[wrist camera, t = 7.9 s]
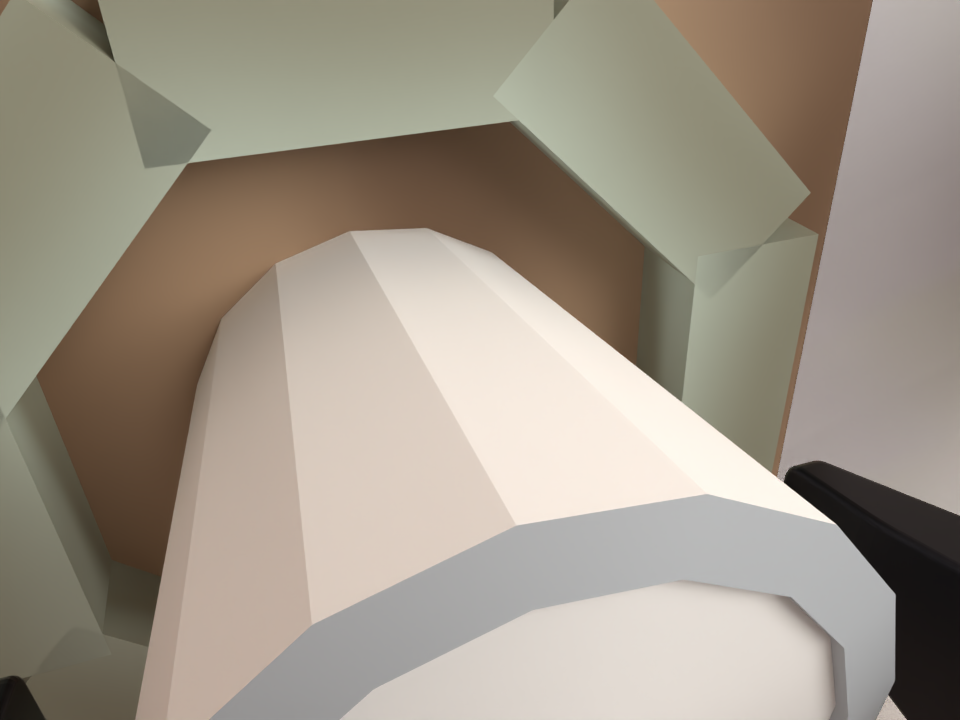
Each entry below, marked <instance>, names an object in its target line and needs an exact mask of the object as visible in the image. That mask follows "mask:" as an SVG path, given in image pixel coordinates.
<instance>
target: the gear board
mask: <svg viewBox="0 0 960 720" xmlns="http://www.w3.org/2000/svg"><path fill="white" fill-rule="evenodd" d="M872 2H873V0H0V678H3V677H7V676H10V675H12V676H13V675H16V676H19V677H21V678H22V679H23V680H24V682H25V683H26V685H27V686H28V688H29V690H30V692H31V693H32V695H33V697H34V699H35V701H36V702H37V704H38V706H39V708H40V710H41V711H42V713H43V715H44V717H45V719H46V720H135V718H136V713H137V707H138V702H139V696H140V691H141V686H142V680H143V675H144V669H145V664H146V659H147V653H148V648H149V642H150V637H151V631H152V626H153V621H154V615H155V610H156V604H157V599H158V594H159V588H160V583H161V577H162V572H163V566H164V561H165V556H166V550H167V545H168V539H169V534H170V529H171V523H172V518H173V512H174V507H175V501H176V496H177V491H178V485H179V480H180V474H181V469H182V464H183V458H184V453H185V447H186V442H187V436H188V431H189V426H190V420H191V415H192V409H193V404H194V399H195V393H196V388H197V383H198V381H199V378H200V375H201V372H202V370H203V367H204V364H205V362H206V359H207V356H208V353H209V351H210V348H211V345H212V343H213V340H214V337H215V334H216V332H217V329H218V326H219V324H220V321H221V318H222V317H223V316H224V315H225V314H226V313H227V312H228V311H229V310H230V309H231V308H232V307H233V306H234V305H235V304H236V303H237V302H238V301H239V300H240V299H241V298H242V297H243V296H244V295H245V294H246V293H247V292H248V291H249V290H250V289H251V288H252V287H253V286H254V285H255V284H256V283H257V282H258V281H259V280H260V279H261V278H262V277H263V276H264V275H265V274H266V273H267V272H268V271H269V270H270V269H271V268H272V267H273V266H274V265H275V264H276V263H278V262H280V261H282V260H285V259H287V258H289V257H292V256H294V255H296V254H298V253H301V252H303V251H305V250H308V249H310V248H312V247H314V246H317V245H319V244H321V243H324V242H326V241H328V240H330V239H333V238H335V237H337V236H340V235H342V234H344V233H346V232H349V231H366V230H391V229H416V228H428V229H431V230H433V231H436V232H439V233H441V234H444V235H447V236H449V237H452V238H455V239H457V240H460V241H463V242H465V243H468V244H471V245H473V246H476V247H479V248H481V249H484V250H487V251H490V252H492V253H493V254H494V255H496V256H497V257H498V258H500V259H501V260H502V261H503V262H505V263H506V264H507V265H508V266H510V267H511V268H512V269H513V270H515V271H516V272H517V273H519V274H520V275H521V276H522V277H524V278H525V279H526V280H527V281H529V282H530V283H531V284H532V285H534V286H535V287H536V288H538V289H539V290H540V291H541V292H543V293H544V294H545V295H546V296H548V297H549V298H550V299H552V300H553V301H554V302H555V303H557V304H558V305H559V306H560V307H562V308H563V309H564V310H565V311H567V312H568V313H569V314H571V315H572V316H573V317H574V318H576V319H577V320H578V321H579V322H581V323H582V324H583V325H584V326H586V327H587V328H588V329H590V330H591V331H592V332H593V333H595V334H596V335H597V336H598V337H600V338H601V339H602V340H603V341H605V342H606V343H607V344H609V345H610V346H611V347H612V348H614V349H615V350H616V351H617V352H619V353H620V354H621V355H622V356H624V357H625V358H626V359H628V360H629V361H630V362H631V363H633V364H634V365H635V366H636V367H638V368H639V369H640V370H641V371H643V372H644V373H645V374H647V375H648V376H649V377H650V378H652V379H653V380H654V381H655V382H657V383H658V384H659V385H660V386H662V387H663V388H664V389H666V390H667V391H668V392H669V393H671V394H672V395H673V396H674V397H676V398H677V399H678V400H679V401H681V402H682V403H683V404H685V405H686V406H687V407H688V408H690V409H691V410H692V411H693V412H695V413H696V414H697V415H698V416H700V417H701V418H702V419H704V420H705V421H706V422H707V423H709V424H710V425H711V426H712V427H714V428H715V429H716V430H717V431H719V432H720V433H721V434H723V435H724V436H725V437H726V438H728V439H729V440H730V441H731V442H733V443H734V444H735V445H736V446H738V447H739V448H740V449H742V450H743V451H744V452H745V453H747V454H748V455H749V456H750V457H752V458H753V459H754V460H755V461H757V462H758V463H759V464H761V465H762V466H763V467H764V468H766V469H767V470H768V471H769V472H771V473H772V474H773V475H774V476H776V477H777V473H778V468H779V463H780V458H781V453H782V448H783V443H784V438H785V433H786V429H787V424H788V419H789V414H790V409H791V404H792V399H793V394H794V389H795V384H796V379H797V374H798V369H799V364H800V359H801V354H802V349H803V344H804V339H805V334H806V329H807V324H808V319H809V314H810V309H811V304H812V299H813V294H814V289H815V285H816V280H817V275H818V270H819V265H820V260H821V255H822V250H823V245H824V240H825V235H826V230H827V225H828V220H829V215H830V210H831V205H832V200H833V195H834V190H835V185H836V180H837V175H838V170H839V165H840V160H841V155H842V150H843V146H844V141H845V136H846V131H847V126H848V121H849V116H850V111H851V106H852V101H853V96H854V91H855V86H856V81H857V76H858V71H859V66H860V61H861V56H862V51H863V46H864V41H865V36H866V31H867V26H868V21H869V16H870V11H871V7H872Z"/></svg>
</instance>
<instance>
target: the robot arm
mask: <svg viewBox="0 0 960 720" xmlns="http://www.w3.org/2000/svg"><path fill="white" fill-rule="evenodd" d="M784 483H785V484H786V485H787V486H788V487H790V488H791V489H792V490H793V491H795V492H796V493H797V494H799V495H800V496H801V497H802V498H804V499H805V500H806V501H807V502H809V503H810V504H811V505H812V506H814V507H815V508H816V509H818V510H819V511H820V512H821V513H823V514H824V515H825V516H826V517H828V518H829V519H830V520H831V521H833V522H834V523H835V524H837V526H838V527H839V528H840V529H841V530H842V531H843V533H844V534H845V535H846V536H847V537H848V539H849V540H850V541H851V542H852V543H853V545H854V546H855V547H856V548H857V549H858V550H859V552H860V553H861V554H862V555H863V556H864V558H865V559H866V560H867V561H868V562H869V564H870V565H871V566H872V567H873V568H874V569H875V571H876V572H877V573H878V574H879V575H880V577H881V578H882V579H883V580H884V581H885V583H886V584H887V585H888V586H889V587H890V589H891V590H892V591H893V592H894V593H895V594H896V603H895V682H894V684H893V686H892V688H891V690H890V692H889V694H888V695H889V697H890V698H891V699H892V701H893V702H894V703H895V705H896V706H897V707H898V709H899V710H900V711H901V713H902V714H903V715H904V717H905V718H906V719H907V720H960V516H959V515H957V514H954V513H951V512H949V511H946V510H944V509H941V508H939V507H936V506H934V505H931V504H929V503H926V502H924V501H921V500H919V499H916V498H914V497H911V496H909V495H906V494H904V493H901V492H899V491H896V490H894V489H891V488H889V487H886V486H884V485H881V484H879V483H876V482H874V481H871V480H869V479H866V478H864V477H861V476H859V475H856V474H854V473H851V472H849V471H846V470H844V469H841V468H839V467H836V466H833V465H831V464H828V463H826V462H823V461H812V462H808V463H804V464H800V465H797V466H793V467H791V468H790V469H789V470H788V471H787V473H786V475H785V479H784ZM0 720H46V719H45V717H44V715H43V713H42V711H41V710H40V708H39V706H38V704H37V702H36V701H35V699H34V697H33V695H32V693H31V692H30V690H29V688H28V686H27V685H26V683H25V682H24V680H23V679H22V678H21V677H19V676H16V675H13V676H12V675H10V676H7V677H3V678H0Z"/></svg>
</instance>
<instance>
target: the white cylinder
mask: <svg viewBox="0 0 960 720" xmlns="http://www.w3.org/2000/svg"><path fill="white" fill-rule="evenodd" d="M895 603H896V594H895V593H894V592H893V591H892V590H891V589H890V587H889V586H888V585H887V584H886V583H885V581H884V580H883V579H882V578H881V577H880V575H879V574H878V573H877V572H876V571H875V569H874V568H873V567H872V566H871V565H870V564H869V562H868V561H867V560H866V559H865V558H864V556H863V555H862V554H861V553H860V552H859V550H858V549H857V548H856V547H855V546H854V545H853V543H852V542H851V541H850V540H849V539H848V537H847V536H846V535H845V534H844V533H843V531H842V530H841V529H840V528H839V527H838V526H837V524H835V523H834V522H833V521H831V520H830V519H829V518H828V517H826V516H825V515H824V514H823V513H821V512H820V511H819V510H818V509H816V508H815V507H814V506H812V505H811V504H810V503H809V502H807V501H806V500H805V499H804V498H802V497H801V496H800V495H799V494H797V493H796V492H795V491H793V490H792V489H791V488H790V487H788V486H787V485H786V484H785V483H783V482H782V481H781V480H780V479H778V478H777V477H776V476H774V475H773V474H772V473H771V472H769V471H768V470H767V469H766V468H764V467H763V466H762V465H761V464H759V463H758V462H757V461H755V460H754V459H753V458H752V457H750V456H749V455H748V454H747V453H745V452H744V451H743V450H742V449H740V448H739V447H738V446H736V445H735V444H734V443H733V442H731V441H730V440H729V439H728V438H726V437H725V436H724V435H723V434H721V433H720V432H719V431H717V430H716V429H715V428H714V427H712V426H711V425H710V424H709V423H707V422H706V421H705V420H704V419H702V418H701V417H700V416H698V415H697V414H696V413H695V412H693V411H692V410H691V409H690V408H688V407H687V406H686V405H685V404H683V403H682V402H681V401H679V400H678V399H677V398H676V397H674V396H673V395H672V394H671V393H669V392H668V391H667V390H666V389H664V388H663V387H662V386H660V385H659V384H658V383H657V382H655V381H654V380H653V379H652V378H650V377H649V376H648V375H647V374H645V373H644V372H643V371H641V370H640V369H639V368H638V367H636V366H635V365H634V364H633V363H631V362H630V361H629V360H628V359H626V358H625V357H624V356H622V355H621V354H620V353H619V352H617V351H616V350H615V349H614V348H612V347H611V346H610V345H609V344H607V343H606V342H605V341H603V340H602V339H601V338H600V337H598V336H597V335H596V334H595V333H593V332H592V331H591V330H590V329H588V328H587V327H586V326H584V325H583V324H582V323H581V322H579V321H578V320H577V319H576V318H574V317H573V316H572V315H571V314H569V313H568V312H567V311H565V310H564V309H563V308H562V307H560V306H559V305H558V304H557V303H555V302H554V301H553V300H552V299H550V298H549V297H548V296H546V295H545V294H544V293H543V292H541V291H540V290H539V289H538V288H536V287H535V286H534V285H532V284H531V283H530V282H529V281H527V280H526V279H525V278H524V277H522V276H521V275H520V274H519V273H517V272H516V271H515V270H513V269H512V268H511V267H510V266H508V265H507V264H506V263H505V262H503V261H502V260H501V259H500V258H498V257H497V256H496V255H494V254H493V253H492V252H490V251H487V250H484V249H481V248H479V247H476V246H473V245H471V244H468V243H465V242H463V241H460V240H457V239H455V238H452V237H449V236H447V235H444V234H441V233H439V232H436V231H433V230H431V229H428V228H416V229H391V230H366V231H349V232H346V233H344V234H342V235H340V236H337V237H335V238H333V239H330V240H328V241H326V242H324V243H321V244H319V245H317V246H314V247H312V248H310V249H308V250H305V251H303V252H301V253H298V254H296V255H294V256H292V257H289V258H287V259H285V260H282V261H280V262H278V263H276V264H275V265H274V266H273V267H272V268H271V269H270V270H269V271H268V272H267V273H266V274H265V275H264V276H263V277H262V278H261V279H260V280H259V281H258V282H257V283H256V284H255V285H254V286H253V287H252V288H251V289H250V290H249V291H248V292H247V293H246V294H245V295H244V296H243V297H242V298H241V299H240V300H239V301H238V302H237V303H236V304H235V305H234V306H233V307H232V308H231V309H230V310H229V311H228V312H227V313H226V314H225V315H224V316H223V317H222V318H221V321H220V324H219V326H218V329H217V332H216V334H215V337H214V340H213V343H212V345H211V348H210V351H209V353H208V356H207V359H206V362H205V364H204V367H203V370H202V372H201V375H200V378H199V381H198V383H197V388H196V393H195V399H194V404H193V409H192V415H191V420H190V426H189V431H188V436H187V442H186V447H185V453H184V458H183V464H182V469H181V474H180V480H179V485H178V491H177V496H176V501H175V507H174V512H173V518H172V523H171V529H170V534H169V539H168V545H167V550H166V556H165V561H164V566H163V572H162V577H161V583H160V588H159V594H158V599H157V604H156V610H155V615H154V621H153V626H152V631H151V637H150V642H149V648H148V653H147V659H146V664H145V669H144V675H143V680H142V686H141V691H140V696H139V702H138V707H137V713H136V718H135V720H876V718H877V716H878V714H879V712H880V710H881V708H882V706H883V704H884V702H885V700H886V698H887V696H888V694H889V692H890V690H891V688H892V686H893V684H894V682H895Z"/></svg>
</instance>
